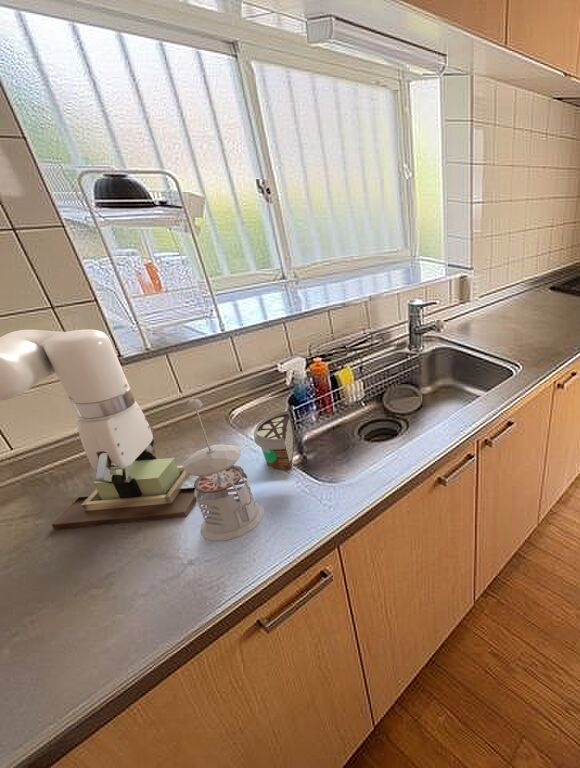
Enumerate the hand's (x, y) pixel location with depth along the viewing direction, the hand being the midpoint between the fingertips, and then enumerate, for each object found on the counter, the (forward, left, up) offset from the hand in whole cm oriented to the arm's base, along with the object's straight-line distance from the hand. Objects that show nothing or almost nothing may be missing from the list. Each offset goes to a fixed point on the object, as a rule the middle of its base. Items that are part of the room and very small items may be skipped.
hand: (141, 484), depth 79 cm
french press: (+19, -10, -3) cm, 22 cm away
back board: (0, 0, -2) cm, 2 cm away
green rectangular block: (0, 0, -1) cm, 1 cm away
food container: (+22, +6, -3) cm, 23 cm away
